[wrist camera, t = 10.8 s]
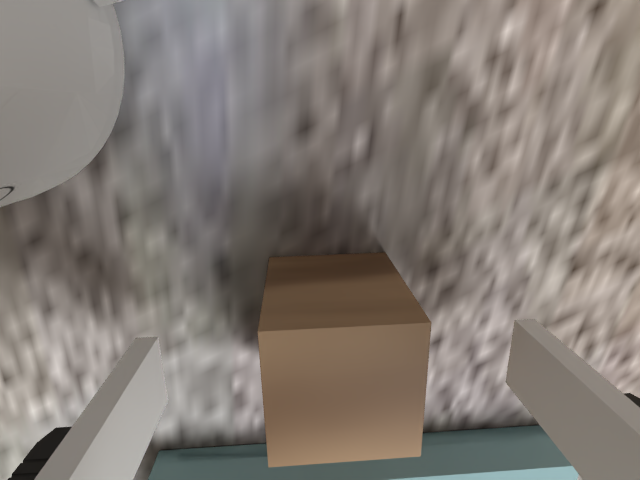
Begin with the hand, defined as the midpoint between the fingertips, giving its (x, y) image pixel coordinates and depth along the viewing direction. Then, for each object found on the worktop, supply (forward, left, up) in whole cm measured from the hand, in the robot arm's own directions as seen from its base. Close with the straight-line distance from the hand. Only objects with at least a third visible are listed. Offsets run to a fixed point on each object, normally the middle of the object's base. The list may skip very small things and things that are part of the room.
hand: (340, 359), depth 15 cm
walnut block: (0, 0, -4) cm, 4 cm away
